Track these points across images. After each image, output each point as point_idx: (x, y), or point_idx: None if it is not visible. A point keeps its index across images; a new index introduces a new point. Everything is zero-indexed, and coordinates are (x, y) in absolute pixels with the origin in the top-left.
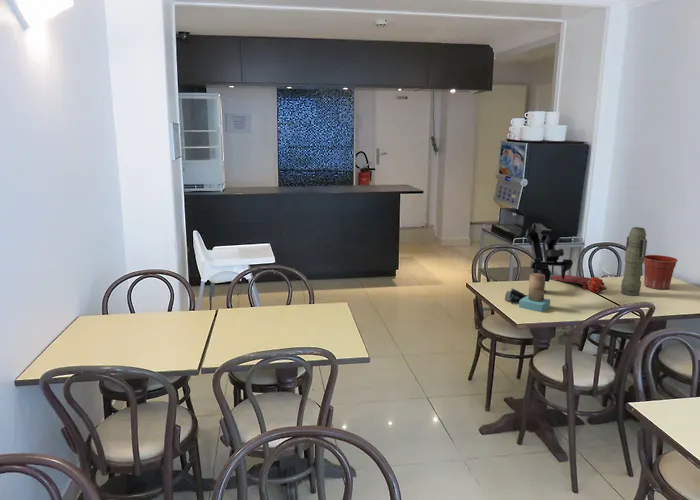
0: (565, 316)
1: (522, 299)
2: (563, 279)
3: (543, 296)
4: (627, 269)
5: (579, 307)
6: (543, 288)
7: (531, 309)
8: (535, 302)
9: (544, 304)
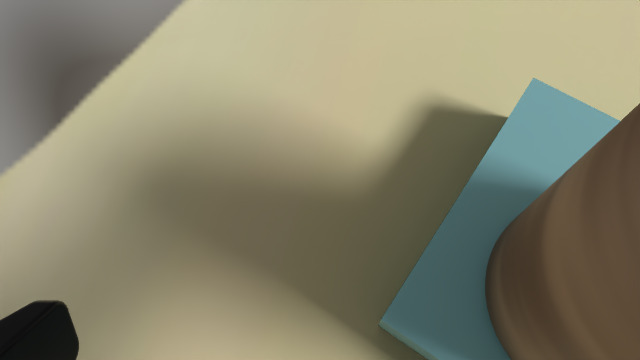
0: (301, 38)
1: None
2: (59, 324)
3: (515, 222)
4: None
5: None
6: (582, 157)
7: None
8: None
9: (490, 146)
